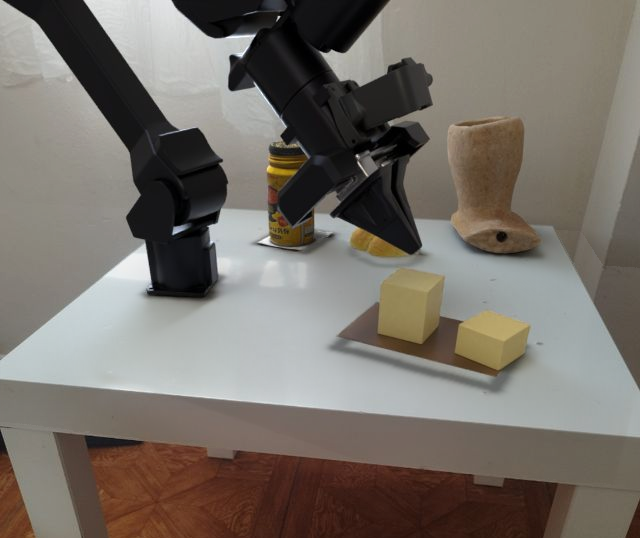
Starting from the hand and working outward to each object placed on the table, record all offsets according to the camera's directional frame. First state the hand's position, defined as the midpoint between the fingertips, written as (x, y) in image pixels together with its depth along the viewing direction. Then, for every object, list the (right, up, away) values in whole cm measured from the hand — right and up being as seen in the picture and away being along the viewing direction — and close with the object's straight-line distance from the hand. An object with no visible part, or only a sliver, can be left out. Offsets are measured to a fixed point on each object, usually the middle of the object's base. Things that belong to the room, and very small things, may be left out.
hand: (417, 251), depth 53 cm
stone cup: (+14, +10, +30) cm, 35 cm away
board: (+2, -8, +4) cm, 9 cm away
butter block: (0, -6, +4) cm, 7 cm away
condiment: (-12, +10, +30) cm, 33 cm away
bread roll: (0, +7, +25) cm, 26 cm away
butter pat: (+6, -7, -1) cm, 9 cm away
